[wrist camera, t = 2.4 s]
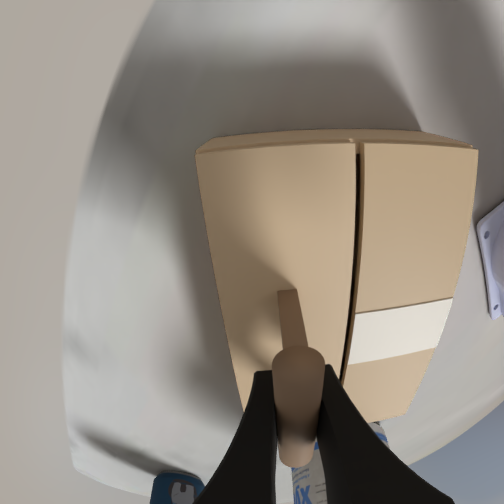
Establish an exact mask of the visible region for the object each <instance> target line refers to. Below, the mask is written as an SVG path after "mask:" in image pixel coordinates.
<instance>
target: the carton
mask: <svg viewBox="0 0 504 504" xmlns="http://www.w3.org/2000/svg"><path fill="white" fill-rule="evenodd" d="M322 142H353V143H355V155H356V199H355V231H354V250H353V265H352V278H351V289H350V300H349V309H348V318H347V326H346V334H345V342H344V349H343V356H342V362H341V369H340V375H339V381H340V383H341V384H342V386H343V388H344V389H345V391H346V393H347V394H348V396H349V398H350V399H351V401H352V402H353V404H354V405H355V407H356V408H357V409H358V411H359V412H360V414H361V415H362V417H363V418H364V419H365V421H366V422H367V423H371V422H375V421H380V420H384V419H389V418H393V417H397V416H401V415H404V414H405V413H406V411H407V409H408V407H409V406H410V404H411V402H412V400H413V398H414V396H415V394H416V391H417V389H418V387H419V385H420V383H421V381H422V379H423V376H424V374H425V372H426V370H427V367H428V365H429V363H430V360H431V358H432V355H433V353H434V350H435V348H436V347H437V345H438V342H439V339H440V337H441V334H442V331H443V329H444V326H445V323H446V320H447V317H448V314H449V311H450V308H451V305H452V301H453V295H454V292H455V288H456V285H457V281H458V277H459V274H460V270H461V266H462V261H463V257H464V253H465V248H466V243H467V238H468V233H469V228H470V222H471V216H472V210H473V203H474V195H475V187H476V177H477V165H478V150H477V149H474V148H472V145H470V144H467V143H464V142H460V141H457V140H453V139H450V138H446V137H442V136H438V135H434V134H430V133H426V132H421V131H406V130H385V129H314V130H292V131H276V132H264V133H252V134H242V135H233V136H224V137H216V138H212V139H210V140H209V141H208V142H206V143H205V144H203V145H202V146H201V147H199V148H198V149H197V150H195V152H196V154H197V153H204V152H212V151H220V150H228V149H237V148H247V147H258V146H269V145H283V144H299V143H322Z"/></svg>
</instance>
